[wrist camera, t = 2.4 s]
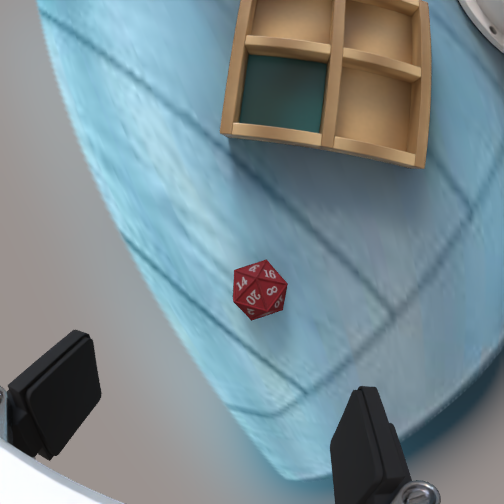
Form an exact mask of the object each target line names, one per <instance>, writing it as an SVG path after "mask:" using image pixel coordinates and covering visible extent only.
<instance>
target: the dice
mask: <svg viewBox="0 0 504 504" xmlns="http://www.w3.org/2000/svg"><path fill="white" fill-rule="evenodd" d="M287 285H288V284H287V283H286V281H285V280H284V279H283V278H282V277H281V276H280V275H279V273H278V272H277V271H276V270H275V269H274V268H273V266H272V265H271V264H270V263H269V262H268V261H267V260H264V261H261V262H258V263H254V264H251V265H248V266H245V267H242V268H239V269H236V270H234V286H233V302H234V303H235V304H236V305H237V306H238V307H239V308H240V309H241V310H242V311H243V312H244V313H245V314H246V315H247V316H248V317H249V318H250V320H251V321H252V320H255V319H258V318H261V317H264V316H267V315H270V314H273V313H275V312H278V311H282V310H283V306H284V301H285V295H286V290H287Z"/></svg>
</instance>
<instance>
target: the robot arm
mask: <svg viewBox="0 0 504 504" xmlns="http://www.w3.org/2000/svg"><path fill="white" fill-rule="evenodd" d="M459 2H460V4H461V5H462V7H463V9H464V10H465V12H466V14H467V15H468V16H469V18H470V19H471V20H472V22H473V23H474V24H475V26H476V27H477V28H478V29H479V30H480V31H481V33H482V34H483V35H484V36H485V37H486V38H487V39H488V40H489V41H490V42H491V43H492V44H493V45H494V46H495V47H497V48H498V49H499V50H500V51H501V52H502V53H504V0H459ZM8 387H9V390H8V391H7V392H6V391H5V389H4V388H2V387H1V386H0V504H125V503H122V502H120V501H117V500H115V499H112V498H110V497H107V496H105V495H103V494H101V493H98V492H96V491H94V490H92V489H89V488H87V487H85V486H83V485H81V484H79V483H77V482H75V481H73V480H71V479H69V478H67V477H65V476H63V475H61V474H59V473H57V472H56V471H54V470H52V469H50V468H48V467H47V466H45V465H43V464H42V463H39V462H38V461H36V460H35V456H36V455H37V453H38V454H39V455H41V456H42V457H44V458H46V459H47V460H49V461H50V460H51V459H52V457H53V456H57V455H58V454H59V453H60V452H61V451H62V449H63V448H64V447H65V445H66V444H67V443H68V441H69V440H70V439H71V437H72V436H73V435H74V433H75V432H76V430H77V429H78V428H79V427H80V425H81V424H82V422H83V421H84V420H85V419H86V418H87V416H88V415H89V414H90V412H91V411H92V410H93V408H94V407H95V406H96V404H97V403H98V402H99V400H100V398H101V388H100V383H99V377H98V371H97V365H96V358H95V352H94V345H93V340H92V339H90V336H89V334H87V333H84V332H81V331H78V330H73V331H72V332H70V333H69V334H68V335H67V336H66V337H64V338H63V339H62V340H61V341H60V342H58V343H57V344H56V345H55V346H53V347H52V348H51V349H50V350H49V351H47V352H46V353H45V354H44V355H43V356H41V357H40V358H39V359H38V360H37V361H35V362H34V363H33V364H32V365H31V366H30V367H28V368H27V369H26V370H25V371H24V372H23V373H21V374H20V375H19V376H18V377H17V378H16V379H14V380H13V381H12V382H11V383H10V384H9V385H8ZM330 453H331V463H332V473H333V484H334V496H335V504H440V502H441V497H440V494H439V491H438V490H437V489H436V487H435V486H433V485H432V484H430V483H429V482H425V481H418V480H416V481H412V480H411V476H410V473H409V470H408V467H407V463H406V460H405V457H404V454H403V451H402V448H401V445H400V442H399V439H398V436H397V433H396V430H395V427H394V425H393V424H392V423H389V422H388V419H387V416H386V413H385V410H384V407H383V404H382V401H381V399H380V396H379V393H378V390H377V388H376V387H366V386H360V387H359V388H358V390H353V392H352V394H351V396H350V399H349V401H348V404H347V406H346V408H345V411H344V413H343V415H342V418H341V420H340V422H339V424H338V427H337V429H336V431H335V433H334V435H333V438H332V440H331V444H330Z"/></svg>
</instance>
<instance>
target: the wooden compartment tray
mask: <svg viewBox="0 0 504 504" xmlns="http://www.w3.org/2000/svg"><path fill="white" fill-rule="evenodd" d="M430 102H431V36H430V20H429V8H428V3H427V2H424V1H422V0H241V1H240V7H239V12H238V18H237V23H236V29H235V34H234V40H233V46H232V52H231V58H230V65H229V71H228V77H227V84H226V91H225V98H224V105H223V112H222V119H221V126H220V134H222V135H224V136H226V137H228V138H238V139H247V140H256V141H265V142H273V143H280V144H288V145H295V146H301V147H308V148H314V149H320V150H326V151H331V152H337V153H342V154H347V155H352V156H357V157H362V158H367V159H372V160H376V161H381V162H385V163H389V164H394V165H398V166H402V167H406V168H410V169H424V168H425V161H426V152H427V143H428V132H429V119H430Z"/></svg>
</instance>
